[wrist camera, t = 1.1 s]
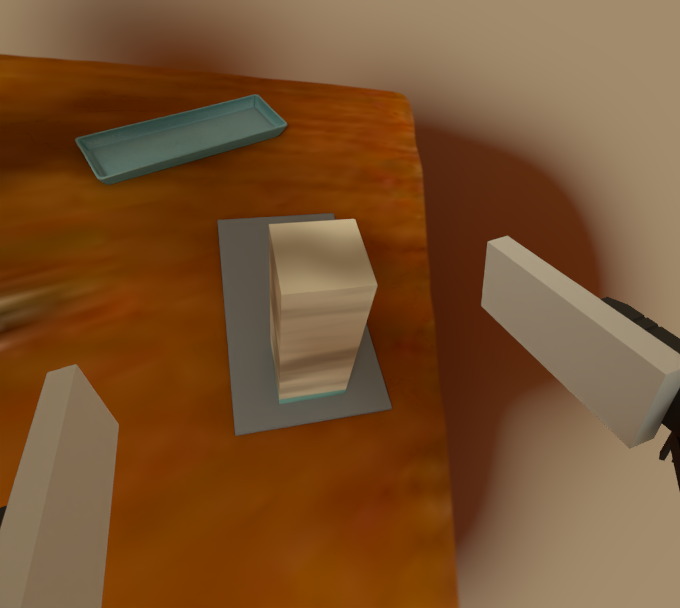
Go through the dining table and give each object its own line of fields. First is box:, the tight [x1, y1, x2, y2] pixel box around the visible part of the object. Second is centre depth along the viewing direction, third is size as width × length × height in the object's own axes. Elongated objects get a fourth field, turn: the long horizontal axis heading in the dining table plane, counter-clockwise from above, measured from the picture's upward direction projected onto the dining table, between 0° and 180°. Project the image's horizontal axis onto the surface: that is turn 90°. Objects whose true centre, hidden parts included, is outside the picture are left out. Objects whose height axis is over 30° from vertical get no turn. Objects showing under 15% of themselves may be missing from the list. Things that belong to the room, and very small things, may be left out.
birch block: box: [269, 219, 378, 404], centre depth 34 cm, size 6×6×16 cm
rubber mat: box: [217, 213, 392, 436], centre depth 45 cm, size 26×14×1 cm, turn 13°
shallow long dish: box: [75, 94, 287, 185], centre depth 59 cm, size 26×9×2 cm, turn 126°
